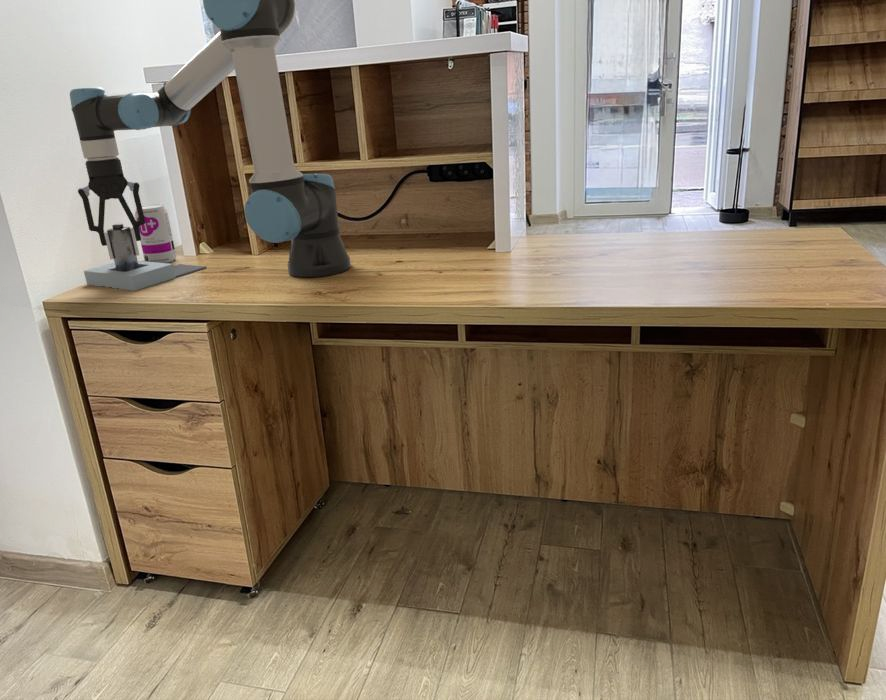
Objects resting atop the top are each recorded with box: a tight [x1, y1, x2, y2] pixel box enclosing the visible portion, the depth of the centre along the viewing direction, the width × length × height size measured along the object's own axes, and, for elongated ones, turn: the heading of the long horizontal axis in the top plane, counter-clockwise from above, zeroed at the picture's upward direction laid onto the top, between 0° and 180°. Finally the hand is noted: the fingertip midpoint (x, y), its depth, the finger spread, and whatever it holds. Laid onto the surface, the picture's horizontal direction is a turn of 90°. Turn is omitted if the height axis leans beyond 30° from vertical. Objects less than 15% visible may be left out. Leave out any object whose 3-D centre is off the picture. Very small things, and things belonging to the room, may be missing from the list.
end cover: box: [106, 223, 139, 272], centre depth 171 cm, size 5×5×13 cm
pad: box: [173, 263, 207, 279], centre depth 180 cm, size 10×10×1 cm
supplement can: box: [134, 204, 177, 264], centre depth 190 cm, size 8×8×15 cm
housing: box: [83, 260, 176, 292], centre depth 173 cm, size 18×12×4 cm, turn 60°
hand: (124, 256), depth 171 cm, fingers closed on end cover, 5 cm apart
